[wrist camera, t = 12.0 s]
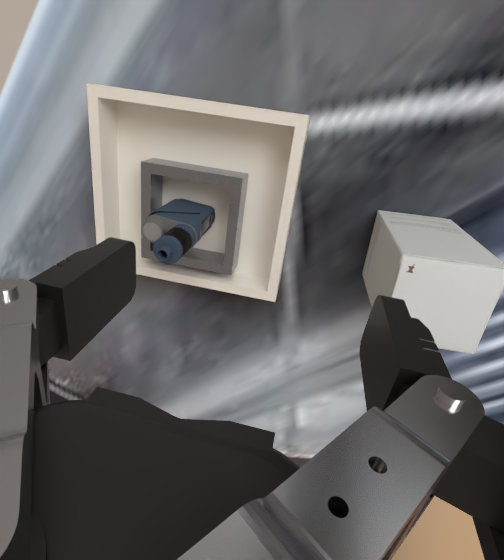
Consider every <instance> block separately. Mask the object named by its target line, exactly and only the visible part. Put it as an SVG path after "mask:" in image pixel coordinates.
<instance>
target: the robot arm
mask: <svg viewBox="0 0 504 560" xmlns="http://www.w3.org/2000/svg"><path fill="white" fill-rule="evenodd" d="M135 288H136V247H135V244H134V243H133V242H132V241H127V240H122V239H118V238H113V237H109V238H107V239H106V240H104V241H102V242H101V243H99V244H98V245H96V246H94V247H93V248H89V249H86V250H82V251H79V252H76V253H74V254H73V255H71V256H69V257H68V258H66V260H63V261H61V262H59V263H58V264H57V265H56V266H55V265H54V266H53V267H51V268H49V269H47V270H46V271H44V272H42V273H41V274H39V275H37V276H36V277H34V278H32V279H31V280H29V281H28V280H24V279H1V280H0V560H391V559H392V557H393V556H394V554H395V553H396V551H397V550H398V548H399V547H400V545H401V544H402V543H403V541H404V540H405V538H406V537H407V535H408V534H409V532H410V531H411V529H412V528H413V527H414V525H415V524H416V522H417V521H418V519H419V518H420V516H421V515H422V513H423V512H424V511H425V509H426V508H427V506H428V505H429V503H430V502H431V500H432V499H433V497H434V496H436V497H439V498H440V499H442V500H444V501H446V502H447V503H450V504H451V505H453V506H455V507H456V508H458V509H460V510H462V511H464V512H465V513H467V514H469V515H471V516H473V520H474V524H475V527H476V531H477V534H478V537H479V541H480V544H481V548H482V551H483V554H484V558H485V560H504V424H502V423H499V422H497V421H495V420H493V419H491V418H489V417H487V416H485V415H484V407H483V405H482V403H481V401H480V400H479V399H478V397H477V396H476V395H475V394H474V393H473V392H472V391H470V390H469V389H468V388H466V387H465V386H463V385H462V384H460V383H458V382H456V381H454V380H452V378H451V376H450V374H449V372H448V370H447V367H446V365H445V363H444V361H443V358H442V356H441V354H440V353H439V350H438V347H437V345H436V343H434V342H435V341H434V338H433V336H432V334H431V332H430V330H429V329H428V328H427V327H426V326H425V325H424V324H423V323H422V322H421V321H420V320H419V319H417V318H412V317H411V316H410V314H409V311H408V309H407V306H406V304H405V301H404V300H402V299H397V298H393V297H388V296H383V295H378V296H377V297H376V299H375V302H374V304H373V307H372V310H371V313H370V316H369V319H368V322H367V324H366V327H365V330H364V333H363V336H362V340H361V345H360V360H361V368H362V376H363V384H364V391H365V399H366V407H367V412H366V413H365V414H364V415H362V416H361V417H360V418H359V419H358V420H357V421H355V422H354V423H353V424H352V425H351V426H349V427H348V428H347V429H346V430H345V431H344V432H342V433H341V434H340V435H339V436H338V437H336V438H335V439H334V440H333V441H332V442H331V443H329V444H328V445H327V446H326V447H325V448H323V449H322V450H321V451H320V452H319V453H318V454H316V455H315V456H314V457H313V458H312V459H310V460H309V461H308V462H307V463H306V464H305V465H304V466H302V467H299V466H298V465H297V464H296V463H295V462H294V461H292V460H291V459H290V458H288V457H287V456H285V455H284V454H282V453H281V452H279V451H277V450H276V449H274V448H273V442H274V435H275V433H274V432H270V431H266V430H262V429H258V428H255V427H251V426H247V425H243V424H239V423H235V422H231V421H216V420H192V419H180V418H177V417H175V416H173V415H171V414H169V413H167V412H165V411H163V410H161V409H159V408H158V407H156V406H154V405H152V404H150V403H148V402H146V401H144V400H143V399H141V398H138V397H135V396H131V395H127V394H123V393H119V392H115V391H111V390H107V389H104V388H100V387H97V388H96V389H95V390H94V392H93V393H92V394H91V395H90V396H89V398H88V399H87V400H70V401H63V402H57V403H53V404H50V399H49V398H50V397H49V367H48V360H49V359H50V358H51V357H57V358H61V359H65V360H69V361H71V360H72V359H73V358H74V357H75V356H76V355H77V354H78V353H79V352H80V351H81V350H82V349H83V348H84V347H85V346H86V345H87V344H88V343H89V342H90V341H91V340H92V339H93V338H94V337H95V336H96V335H97V334H98V333H99V332H100V331H101V330H102V329H103V328H104V327H105V326H106V325H107V324H108V323H109V322H110V321H111V320H112V319H113V318H114V317H115V316H116V315H117V314H118V313H119V312H120V311H121V310H122V309H123V308H124V307H125V306H126V305H127V304H128V303H129V302H130V301H131V299H132V297H133V295H134V292H135Z"/></svg>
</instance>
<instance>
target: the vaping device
mask: <svg viewBox="0 0 504 560" xmlns="http://www.w3.org/2000/svg"><path fill="white" fill-rule="evenodd" d="M214 210H215V209H214V208H213V207H211V206H208V205H204V204H200V203H197V202H193V201H190V200H186V199H174V200H172V201H170V202H169V203H167V204H165V205H163V206H162V207H160V208H158V209H156V210H155V211H153V212H151V213H150V214H149V215H148V217H147V218H146V220H145V223H144V224H143V225H142V228H141V231H142V235H143V237H144V238H145V239H146V240H147V241H149V242H153V243H154V246H153V252H154V255H155V257H156V258H157V259H158V260H159V261H160V262H162V263H164V264H169V265H170V264H174V263H176V262H177V261H178V260H179V259H180V258H181V257H182V256H183V255H184V254H185V253H186V252H187V251H188V250H189V249H191V248H192V247H194V245H195V244H196V243H197V242H198V241H199V240H200V239H201V237H202V236H203V235H204V234H205V233H206V232H207V231H208V230H209V229H210V228H211V227H212V226H211V225H212V224H213V223H214V220H215V211H214Z"/></svg>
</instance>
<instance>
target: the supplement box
mask: <svg viewBox="0 0 504 560" xmlns="http://www.w3.org/2000/svg"><path fill="white" fill-rule="evenodd" d="M362 275H363V278H364V282H365V286H366V290H367V293H368V297H369V301H370V305H371V309H372V307H373V304H374V302H375V299H376V297H377V296H378V295H383V296H388V297H393V298H397V299H402V300H404V301H405V304H406V306H407V309H408V311H409V314H410V316H411V317H412V318H417V319H419V320H420V321H421V322H422V323H423V324H424V325H425V326H426V327H427V328H428V329H429V330H430V332H431V334H432V336H433V338H434V341H435V342H434V343H436V345H437V347H438V348H440V349H446V350H452V351H457V352H463V353H469V354H474V353H475V350H476V348H477V346H478V344H479V341H480V339H481V337H482V334H483V332H484V330H485V328H486V325H487V323H488V321H489V318H490V316H491V314H492V312H493V310H494V307H495V305H496V303H497V301H498V299H499V297H500V295H501V293H502V291H503V289H504V263H503V262H501V261H500V260H499V259H498V258H497V257H495V256H494V255H493V254H492V253H491V252H489V251H488V250H487V249H486V248H484V247H483V246H482V245H481V244H479V243H478V242H477V241H476V240H475V239H473V238H472V237H471V236H470V235H468V234H467V233H466V232H465V231H464V230H462V229H461V228H460V227H459V226H458V225H456V224H455V223H454V222H453V221H452V220H450V219H443V218H437V217H429V216H421V215H413V214H405V213H397V212H389V211H381V210H378V212H377V216H376V220H375V224H374V228H373V232H372V236H371V240H370V244H369V248H368V252H367V256H366V260H365V264H364V268H363V272H362Z"/></svg>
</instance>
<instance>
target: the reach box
mask: <svg viewBox="0 0 504 560" xmlns="http://www.w3.org/2000/svg"><path fill="white" fill-rule="evenodd" d="M87 99H88V115H89V131H90V147H91V163H92V179H93V195H94V211H95V227H96V243H97V245H98V244H99V243H101V242H102V241H104V240H106V239H107V238H109V237H113V238H118V239H122V240H127V241H132V242H133V243H134V244H135V247H136V274H139V275H144V276H149V277H154V278H158V279H163V280H168V281H173V282H178V283H183V284H188V285H193V286H198V287H203V288H208V289H213V290H218V291H223V292H228V293H233V294H238V295H243V296H247V297H252V298H257V299H262V300H267V301H272V302H275V301H276V297H277V293H278V289H279V285H280V280H281V274H282V269H283V263H284V258H285V252H286V247H287V241H288V236H289V231H290V225H291V220H292V214H293V209H294V203H295V198H296V192H297V187H298V181H299V176H300V171H301V165H302V160H303V154H304V149H305V143H306V138H307V132H308V127H309V121H310V116H311V115H304V114H297V113H291V112H284V111H277V110H270V109H263V108H256V107H250V106H243V105H236V104H229V103H222V102H215V101H209V100H202V99H195V98H188V97H181V96H174V95H167V94H161V93H154V92H147V91H140V90H133V89H126V88H120V87H113V86H105V85H97V84H89V83H87ZM151 158H158V159H164V160H170V161H176V162H182V163H188V164H194V165H200V166H206V167H212V168H218V169H224V170H230V171H236V172H242V173H248V174H249V175H248V184H247V192H246V200H245V208H244V216H243V224H242V232H241V241H240V249H239V257H238V265H237V266H236V268H235V270H234V272H233V273H232V275H228V274H223V273H218V272H213V271H208V270H203V269H197V268H192V267H187V266H182V265H177V264H170V265H169V264H164V263H162V262H160V261H157V260H152V259H147V258H142V257H141V161H144V160H148V159H151ZM230 194H231V187H226V186H220V185H214V184H208V183H202V182H197V181H191V180H185V179H179V178H173V177H167V176H163V192H162V206H163V205H165V204H167V203H169V202H170V201H172V200H174V199H186V200H190V201H193V202H197V203H200V204H204V205H208V206H211V207H213V208H214V209H215V210H214V211H215V220H214V223H213V224H212V225H211V226H212V227H211V228H210V229H209V230H208V231H207V232H206V233H205V234H204V235H203V236H202V237H201V239H200V240H199V241H198V242H197V243H196V244H195V245H194V247H193V248H198V249H203V250H208V251H214V252H219V253H224V252H225V242H226V232H227V223H228V213H229V203H230Z"/></svg>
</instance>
